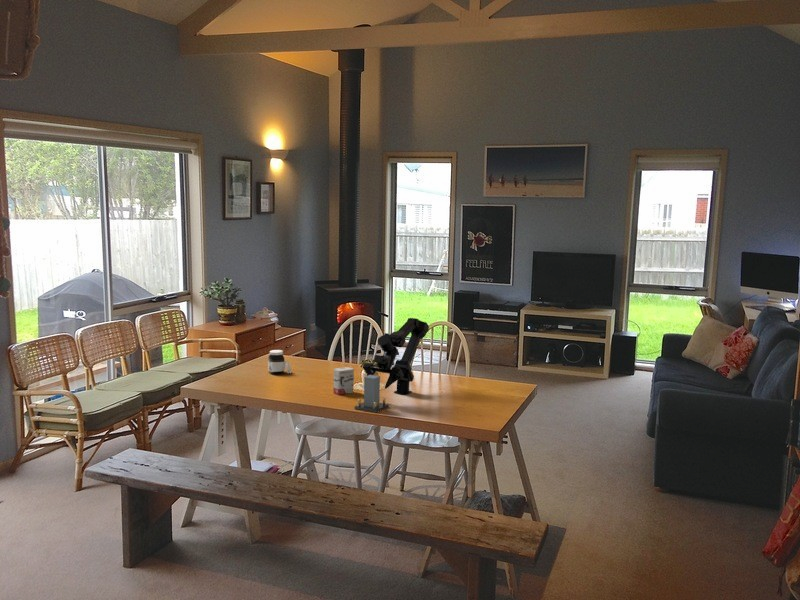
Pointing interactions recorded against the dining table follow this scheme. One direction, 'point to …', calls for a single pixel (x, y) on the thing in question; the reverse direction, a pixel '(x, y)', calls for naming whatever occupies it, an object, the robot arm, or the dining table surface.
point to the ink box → (343, 380)
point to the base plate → (371, 409)
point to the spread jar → (277, 362)
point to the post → (371, 390)
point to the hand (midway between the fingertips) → (376, 386)
